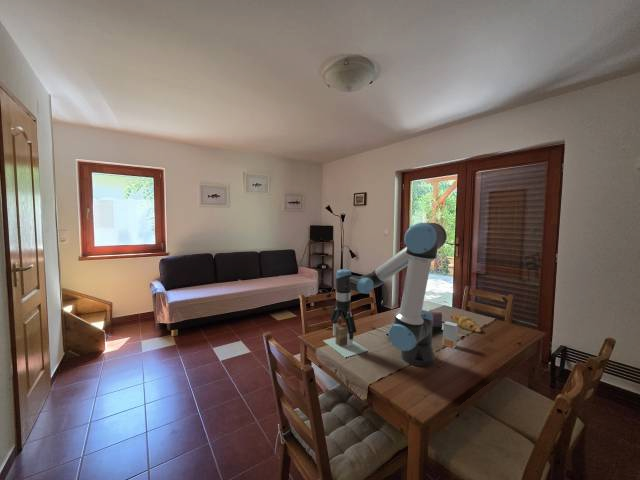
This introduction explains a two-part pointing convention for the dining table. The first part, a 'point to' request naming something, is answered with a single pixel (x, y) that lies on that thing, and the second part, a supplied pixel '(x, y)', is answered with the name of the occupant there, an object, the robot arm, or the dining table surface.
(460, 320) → the croissant
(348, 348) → the mat
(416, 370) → the dining table surface
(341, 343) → the walnut block
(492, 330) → the dining table surface
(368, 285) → the robot arm
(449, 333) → the skincare box
